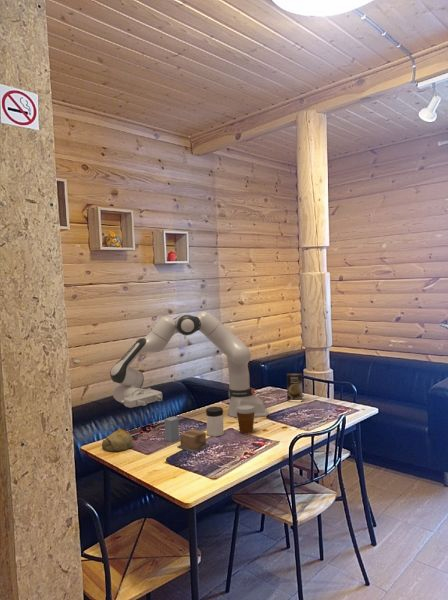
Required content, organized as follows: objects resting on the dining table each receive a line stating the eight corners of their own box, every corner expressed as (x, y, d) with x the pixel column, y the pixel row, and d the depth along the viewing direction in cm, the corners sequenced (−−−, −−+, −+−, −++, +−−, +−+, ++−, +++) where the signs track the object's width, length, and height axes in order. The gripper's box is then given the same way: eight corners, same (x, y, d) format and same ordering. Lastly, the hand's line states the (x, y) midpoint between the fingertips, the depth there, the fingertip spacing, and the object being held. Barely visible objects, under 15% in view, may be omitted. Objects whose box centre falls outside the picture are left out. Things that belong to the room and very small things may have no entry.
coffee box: (287, 402, 262) (286, 375, 261) (287, 399, 268) (286, 372, 267) (302, 402, 260) (302, 375, 259) (302, 399, 266) (302, 372, 266)
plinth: (193, 440, 203) (192, 427, 203) (209, 445, 197) (208, 432, 196) (177, 447, 196) (176, 434, 196) (193, 452, 189) (192, 438, 189)
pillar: (172, 437, 209) (171, 416, 208) (179, 439, 206) (178, 418, 205) (165, 440, 205) (164, 419, 205) (171, 442, 202) (171, 420, 202)
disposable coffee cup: (232, 432, 213) (231, 407, 213) (245, 426, 220) (244, 403, 219) (247, 436, 207) (246, 411, 206) (260, 430, 213) (259, 406, 213)
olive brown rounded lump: (139, 443, 203) (138, 426, 203) (126, 453, 191) (125, 435, 191) (112, 441, 207) (111, 424, 207) (97, 451, 195) (96, 433, 195)
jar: (211, 438, 206) (210, 412, 205) (202, 433, 213) (201, 408, 212) (227, 433, 211) (226, 409, 210) (218, 429, 218) (217, 405, 217)
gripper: (118, 395, 214) (135, 399, 205) (151, 387, 229) (169, 390, 220) (118, 408, 214) (136, 413, 205) (151, 399, 230) (169, 403, 220)
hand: (153, 401), depth 213 cm, fingers open, 8 cm apart
